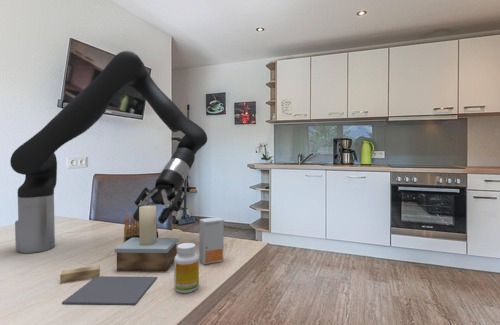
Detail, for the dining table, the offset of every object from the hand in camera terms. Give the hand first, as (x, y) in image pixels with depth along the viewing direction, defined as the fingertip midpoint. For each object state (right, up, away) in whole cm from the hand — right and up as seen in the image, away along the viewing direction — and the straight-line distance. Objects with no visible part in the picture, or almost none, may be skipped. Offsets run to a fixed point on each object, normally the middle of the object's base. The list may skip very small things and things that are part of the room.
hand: (147, 220), depth 76 cm
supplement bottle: (+14, -13, -13) cm, 23 cm away
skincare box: (+17, -12, +3) cm, 21 cm away
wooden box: (0, -12, 0) cm, 12 cm away
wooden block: (-13, -13, -8) cm, 20 cm away
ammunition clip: (-7, -12, +13) cm, 19 cm away
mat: (-2, -12, -14) cm, 19 cm away
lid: (0, -7, 0) cm, 7 cm away
